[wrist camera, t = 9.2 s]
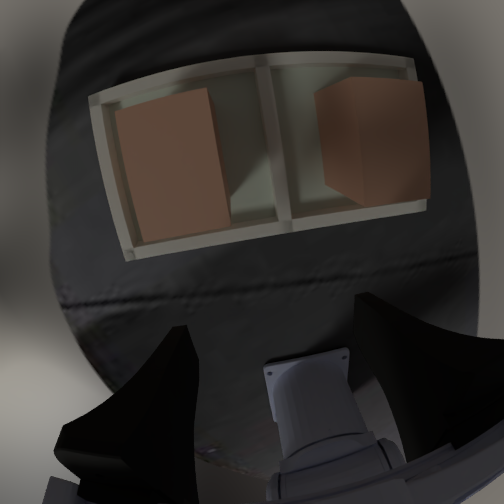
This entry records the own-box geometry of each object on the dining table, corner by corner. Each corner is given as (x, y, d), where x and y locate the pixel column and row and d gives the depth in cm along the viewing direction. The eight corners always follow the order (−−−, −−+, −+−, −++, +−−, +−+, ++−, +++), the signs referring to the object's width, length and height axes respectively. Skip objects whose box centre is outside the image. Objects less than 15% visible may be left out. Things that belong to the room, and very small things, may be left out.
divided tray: (410, 203, 20) (426, 210, 18) (135, 248, 20) (126, 261, 18) (397, 63, 16) (413, 58, 14) (102, 99, 16) (88, 96, 14)
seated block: (230, 197, 18) (231, 226, 12) (168, 209, 18) (143, 242, 12) (214, 103, 16) (206, 87, 10) (150, 118, 16) (114, 111, 10)
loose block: (378, 178, 18) (430, 198, 13) (324, 184, 18) (364, 207, 13) (369, 92, 16) (422, 81, 10) (313, 93, 16) (351, 76, 10)
